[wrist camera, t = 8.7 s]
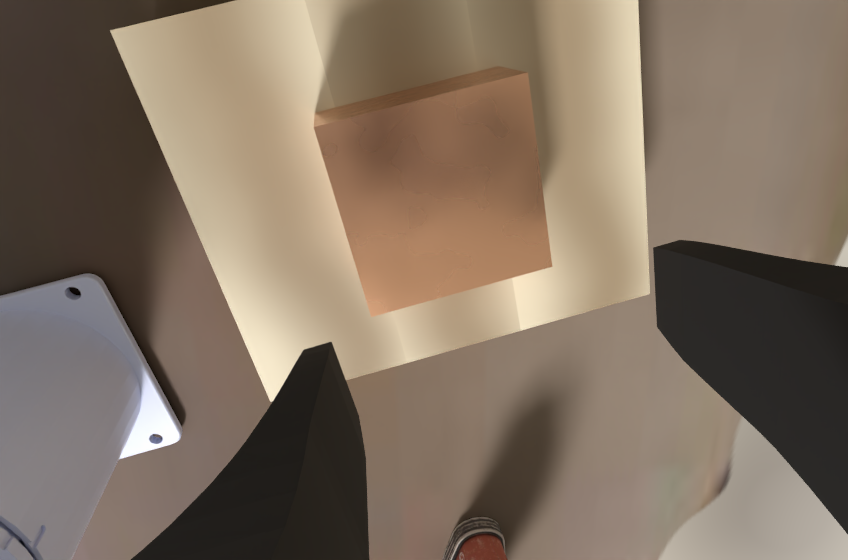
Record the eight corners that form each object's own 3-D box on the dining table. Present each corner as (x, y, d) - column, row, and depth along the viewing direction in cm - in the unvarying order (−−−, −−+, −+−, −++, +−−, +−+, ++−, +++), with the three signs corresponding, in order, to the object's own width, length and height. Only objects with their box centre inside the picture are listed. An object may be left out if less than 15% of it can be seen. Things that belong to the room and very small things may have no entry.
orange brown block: (358, 242, 21) (370, 317, 16) (315, 98, 19) (313, 127, 13) (493, 206, 21) (552, 266, 16) (468, 59, 19) (527, 72, 14)
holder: (278, 342, 23) (270, 401, 19) (153, 30, 17) (109, 30, 14) (599, 253, 24) (649, 293, 20) (572, -71, 18) (634, -96, 15)
